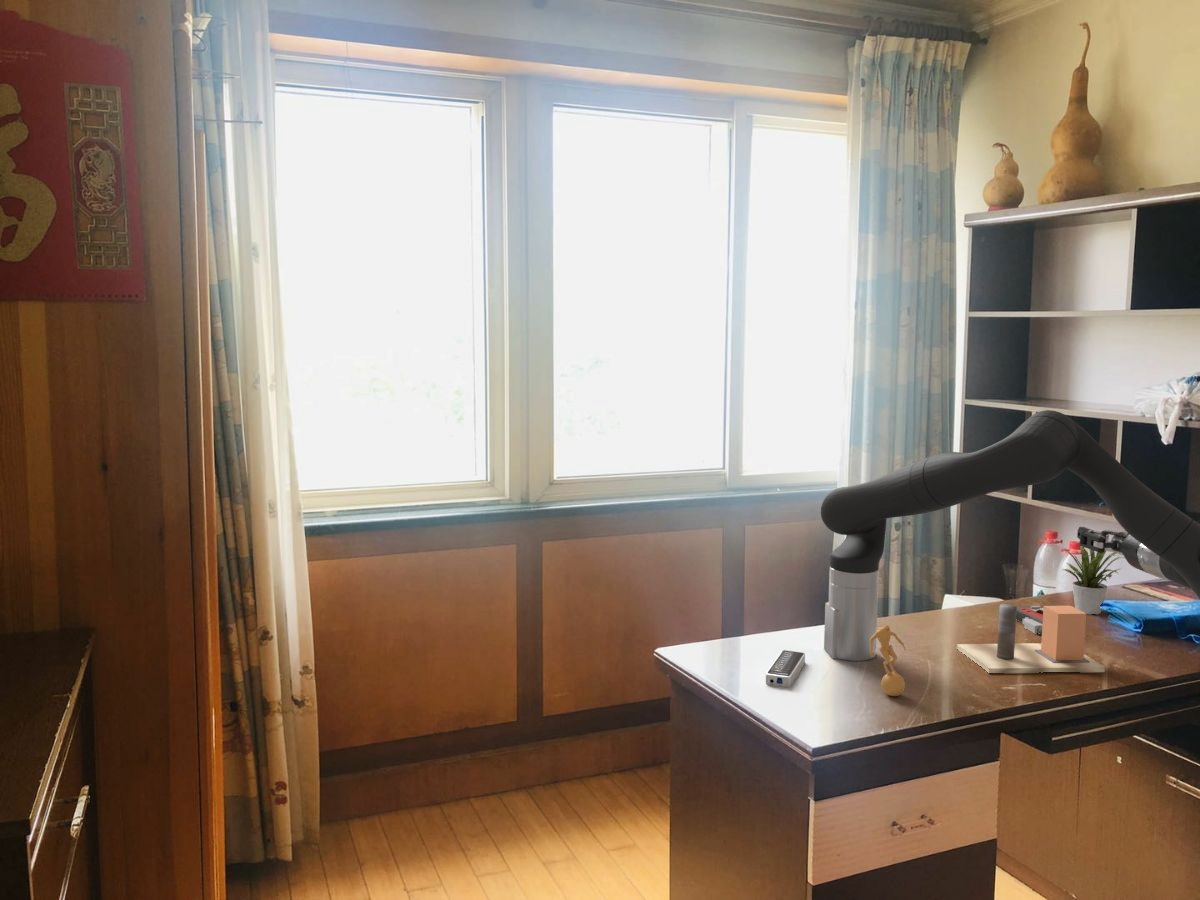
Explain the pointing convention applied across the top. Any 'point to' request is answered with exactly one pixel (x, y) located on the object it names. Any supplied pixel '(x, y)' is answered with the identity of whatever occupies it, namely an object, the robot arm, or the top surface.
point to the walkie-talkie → (1031, 618)
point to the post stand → (1020, 652)
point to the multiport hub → (785, 668)
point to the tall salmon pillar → (1063, 632)
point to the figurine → (891, 681)
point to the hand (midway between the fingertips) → (1103, 532)
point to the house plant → (1090, 581)
